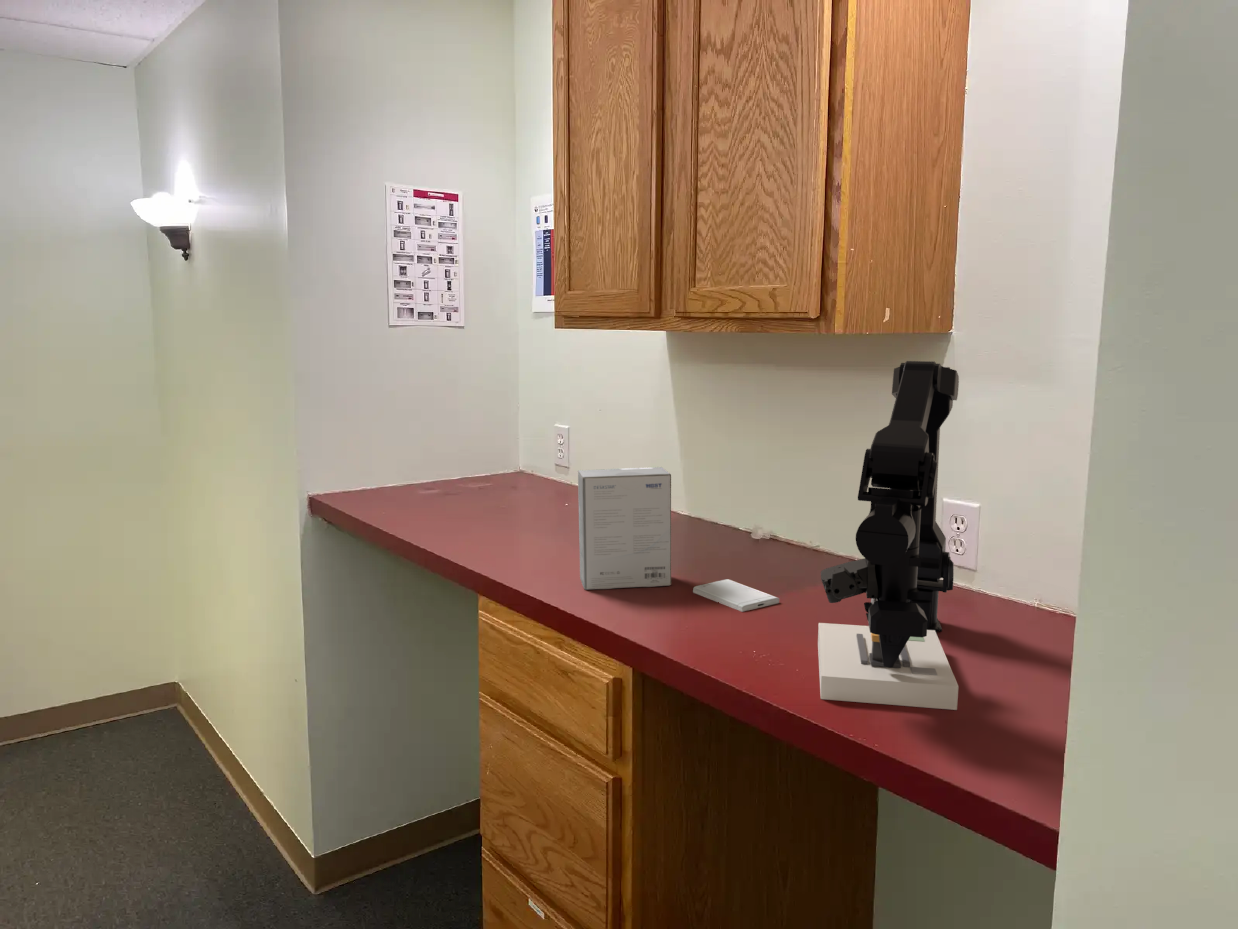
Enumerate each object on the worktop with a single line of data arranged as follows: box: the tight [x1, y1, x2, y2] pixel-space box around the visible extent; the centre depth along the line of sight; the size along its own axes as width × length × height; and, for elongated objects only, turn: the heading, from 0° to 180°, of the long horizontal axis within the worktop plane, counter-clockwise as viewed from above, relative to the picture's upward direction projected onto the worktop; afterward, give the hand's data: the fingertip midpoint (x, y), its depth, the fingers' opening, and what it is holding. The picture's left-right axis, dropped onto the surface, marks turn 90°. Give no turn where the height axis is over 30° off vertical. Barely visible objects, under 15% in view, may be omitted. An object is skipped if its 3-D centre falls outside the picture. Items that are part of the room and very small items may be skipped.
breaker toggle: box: [869, 633, 901, 668], centre depth 117 cm, size 3×4×4 cm
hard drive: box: [692, 578, 780, 613], centre depth 154 cm, size 2×8×12 cm
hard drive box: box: [577, 466, 672, 591], centre depth 161 cm, size 16×8×20 cm, turn 99°
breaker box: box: [817, 622, 959, 711], centre depth 121 cm, size 20×16×4 cm
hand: (887, 666), depth 114 cm, fingers closed
